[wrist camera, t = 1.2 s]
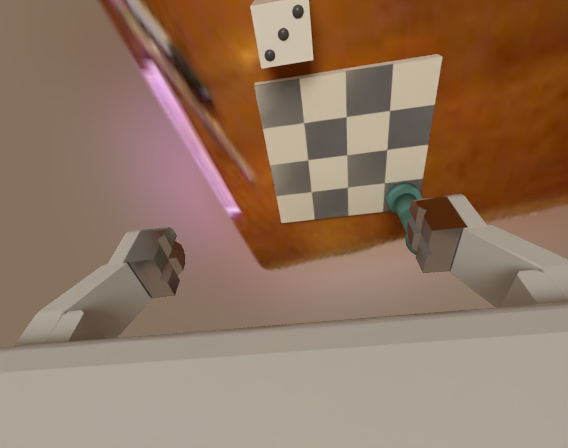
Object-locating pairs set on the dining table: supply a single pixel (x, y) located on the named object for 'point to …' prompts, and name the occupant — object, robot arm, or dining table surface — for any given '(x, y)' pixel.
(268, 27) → the die
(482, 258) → the robot arm
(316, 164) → the board
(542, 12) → the dining table surface
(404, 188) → the pawn
